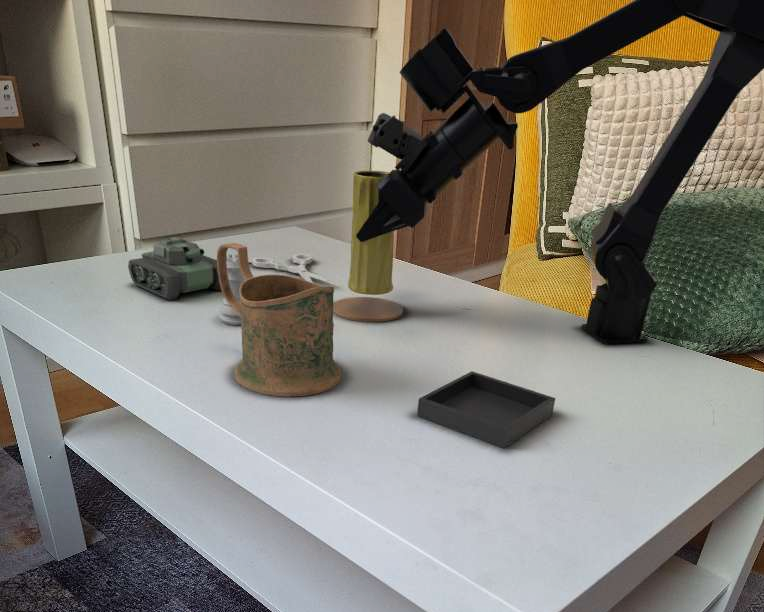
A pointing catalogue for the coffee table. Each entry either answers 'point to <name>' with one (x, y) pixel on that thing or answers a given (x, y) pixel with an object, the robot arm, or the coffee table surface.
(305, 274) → the scissors
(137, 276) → the toy tank
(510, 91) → the robot arm
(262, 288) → the mug
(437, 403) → the black tray
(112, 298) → the coffee table surface
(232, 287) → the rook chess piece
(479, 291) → the coffee table surface
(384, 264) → the vase
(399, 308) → the coaster
